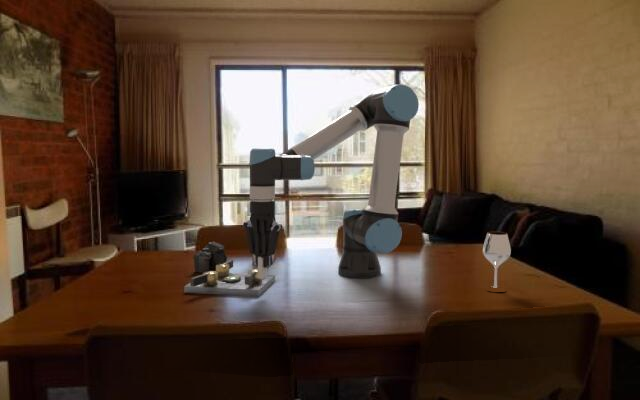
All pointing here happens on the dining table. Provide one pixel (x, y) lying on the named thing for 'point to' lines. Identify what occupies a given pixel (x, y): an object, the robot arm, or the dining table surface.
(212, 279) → the knob near
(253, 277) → the knob arm
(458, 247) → the dining table surface
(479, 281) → the dining table surface
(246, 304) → the dining table surface
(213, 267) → the camera
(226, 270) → the knob far
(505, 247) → the wineglass
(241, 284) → the level plate
